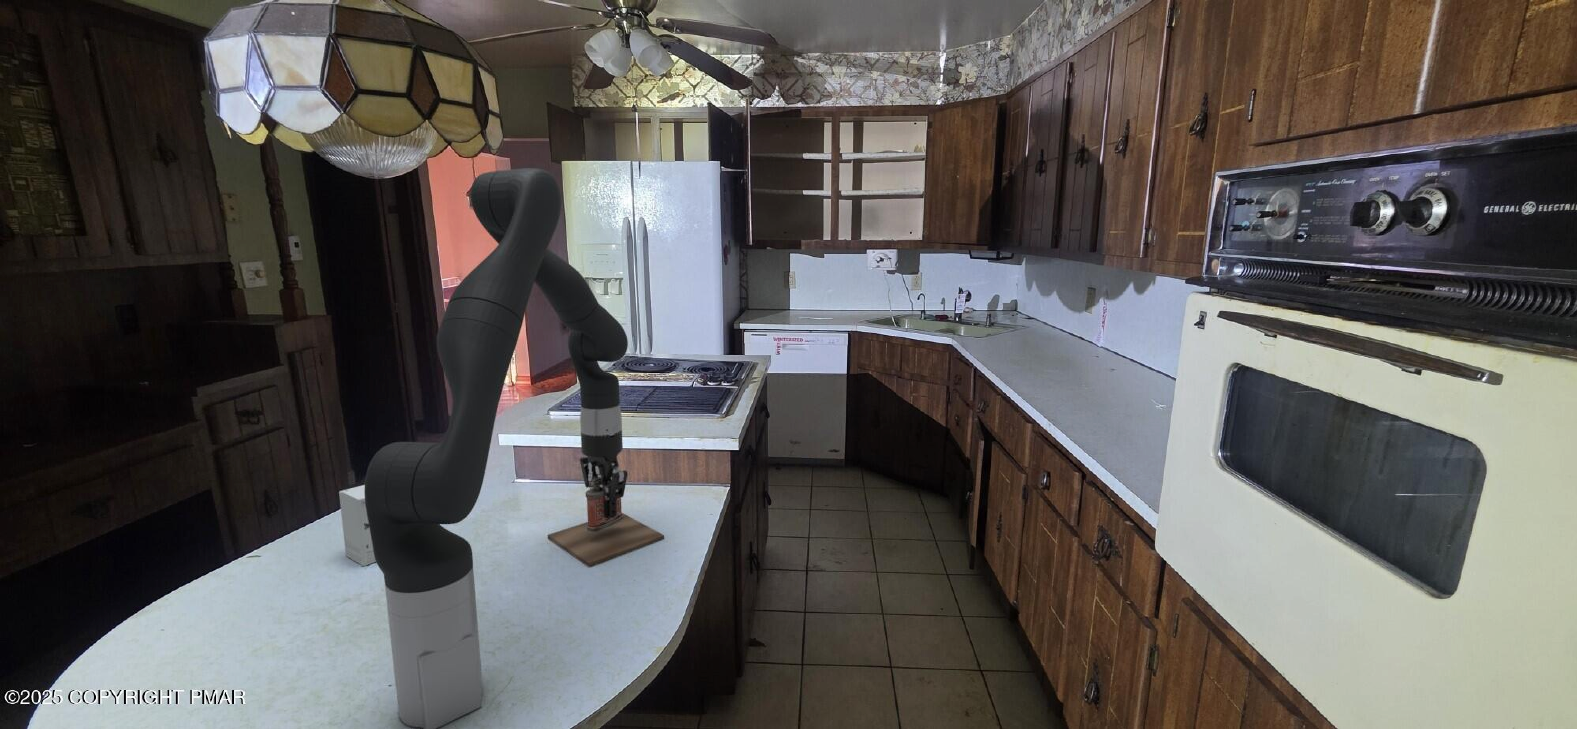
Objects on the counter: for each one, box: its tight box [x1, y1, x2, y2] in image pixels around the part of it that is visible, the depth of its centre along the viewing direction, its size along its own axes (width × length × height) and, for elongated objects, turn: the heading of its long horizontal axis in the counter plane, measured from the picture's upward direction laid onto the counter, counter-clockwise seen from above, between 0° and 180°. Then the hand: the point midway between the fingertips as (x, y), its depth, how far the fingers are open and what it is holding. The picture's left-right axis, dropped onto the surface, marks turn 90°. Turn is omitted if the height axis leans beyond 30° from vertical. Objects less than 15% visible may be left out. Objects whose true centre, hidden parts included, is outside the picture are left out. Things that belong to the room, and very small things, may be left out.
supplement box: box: [338, 484, 376, 567], centre depth 115 cm, size 7×7×13 cm
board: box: [547, 512, 665, 568], centre depth 123 cm, size 16×16×1 cm
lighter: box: [585, 477, 624, 532], centre depth 122 cm, size 8×3×10 cm, turn 149°
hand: (604, 513), depth 122 cm, fingers closed on lighter, 3 cm apart
